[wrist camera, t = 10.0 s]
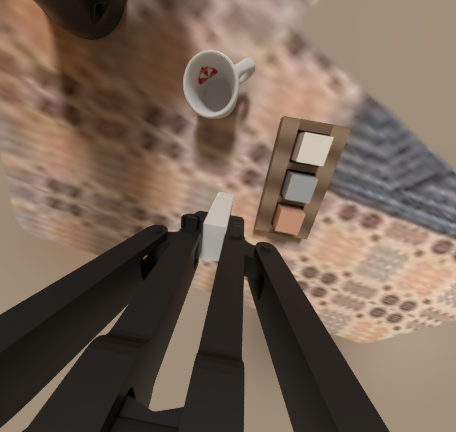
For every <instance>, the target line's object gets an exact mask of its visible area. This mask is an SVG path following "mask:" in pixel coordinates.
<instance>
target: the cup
mask: <svg viewBox="0 0 456 432" xmlns="http://www.w3.org/2000/svg"><path fill="white" fill-rule="evenodd" d="M254 71H255V63H254V61H253V59H252V58H246V59H244V60H242V61H240V62H239V63H237V64H236V65H234V64H233V63H232V61H231V60H230V59H229V58H228V57H227V56H226V55H225V54H223V53H221V52H219V51H216V50H205V51H202V52H200V53H198V54H197V55H195V56H194V57H193V58H192V59H191V60H190V62H189V63H188V65H187V67H186V69H185V73H184V77H183V91H184V95H185V98H186V101H187V103H188V104H189V106H190V107H191V109H192V110H193V111H194V112H195V113H197V114H198V115H200V116H201V117H204V118H208V119H221V118H224V117H226V116H228V115H229V114H230V113H231V112H232V111H233V109H234V108H235V106H236V103H237V98H238V92H239V85H240V84H241V83H243V82H244V81H246V80H247V79H248V78H250V77H251V76H252V75H253V73H254Z"/></svg>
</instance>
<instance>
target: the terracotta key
mask: <svg viewBox="0 0 456 432" xmlns="http://www.w3.org/2000/svg"><path fill="white" fill-rule="evenodd" d="M304 217H305V213H304V212H303V211H302V209H301V208H300V207H299V206H296V205H290V204H285V203H280V202H278V203H277V207H276V210H275V213H274V217H273V220H272V222H273V226H274V229H275V231H278V232H283V233H289V234H294V235H298V233H299V231H300V228H301V225H302V223H303V220H304Z"/></svg>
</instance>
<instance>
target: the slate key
mask: <svg viewBox="0 0 456 432" xmlns="http://www.w3.org/2000/svg"><path fill="white" fill-rule="evenodd" d="M317 182H318V179H317V178H315V177H314V176H312V175H310V174H305V173H299V172H294V171H288V170H287V172H286V176H285V179H284V183H283V186H282V190H281V194H282V195H283V197H284V199H287V200H292V201H298V202H303V203H308V204H310V201H311V198H312V195H313V193H314V190H315V187H316V185H317Z"/></svg>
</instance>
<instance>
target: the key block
mask: <svg viewBox="0 0 456 432" xmlns="http://www.w3.org/2000/svg"><path fill="white" fill-rule="evenodd" d="M350 130H351V128H350V127H344V126H338V125H332V124H327V123H321V122H315V121H309V120H303V119H297V118H292V117H286V116H284V117H282V118H281V121H280V125H279V129H278V133H277V137H276V141H275V145H274V149H273V153H272V157H271V161H270V165H269V169H268V173H267V177H266V181H265V185H264V189H263V193H262V197H261V201H260V205H259V209H258V213H257V217H256V221H255V229H256V230H261V231H266V232H271V233H276V234H281V235H286V236H291V237H296V238H301V239H306V240H307V238H308V235H309V233H310V230H311V228H312V225H313V223H314V220H315V218H316V215H317V213H318V210H319V208H320V205H321V203H322V200H323V198H324V195H325V193H326V190H327V188H328V185H329V183H330V180H331V178H332V175H333V173H334V170H335V168H336V165H337V162H338V160H339V157H340V155H341V152H342V150H343V147H344V145H345V142H346V140H347V137H348V135H349V132H350ZM297 131H302V132H308V133H314V134H319V135H325V136H330V137H334V139H333V141H332V144H331V147H330V149H329V152H328V155H327V158H326V160H325V163H324V166H318V165H308V164H302V163H297V162H291V161H289V159H290V155H291V152H292V148H293V145H294V142H295V138H296V135H297ZM287 168H288V169H293V170H299V171H304V172H310V175H312V176H314V177H315V178H317V179H318V182H317V185H316V187H315V190H314V193H313V195H312V198H311V201H310V204H308V203H303V202H298V201H292V200H287V199H284V197H283V195H282V194H281V193H280V190H281V186H282V183H283V180H284V176H285V173H286V169H287ZM277 202H282V203H287V204H292V205H297V206H299V207H300V208H301V209H302V211H303V212H304V213H305V217H304V220H303V223H302V225H301V228H300V231H299V233H298V235H294V234H289V233H283V232H278V231H275V229H274V226H273V222H272V217H273V214H274V211H275V207H276V204H277Z"/></svg>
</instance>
